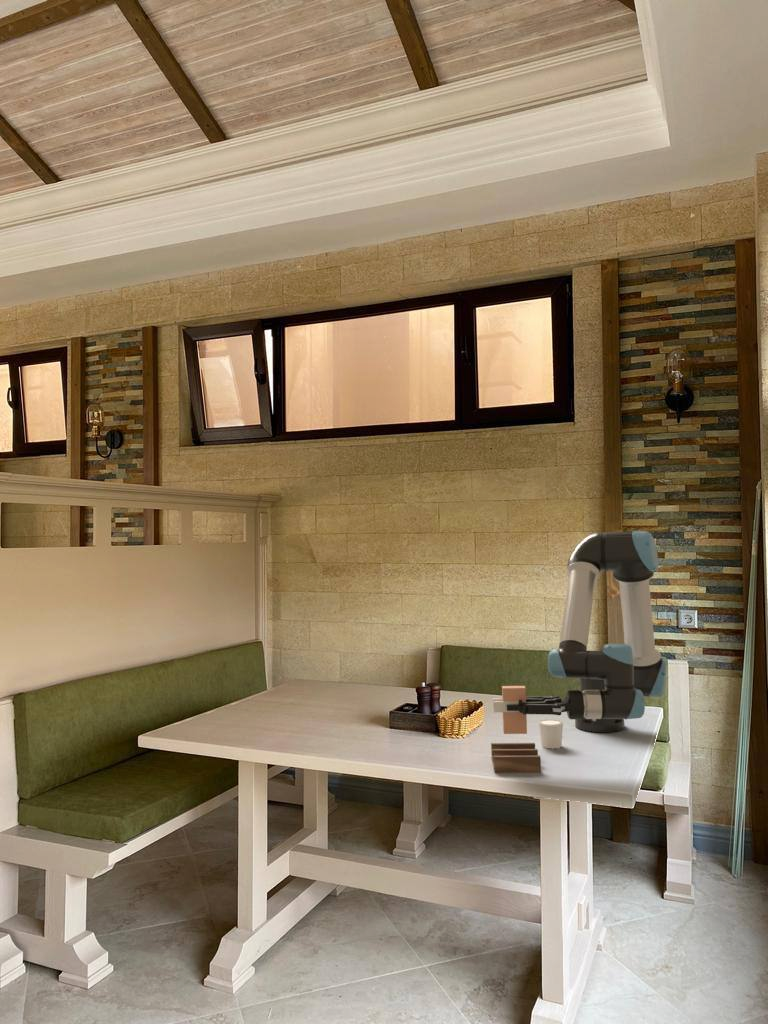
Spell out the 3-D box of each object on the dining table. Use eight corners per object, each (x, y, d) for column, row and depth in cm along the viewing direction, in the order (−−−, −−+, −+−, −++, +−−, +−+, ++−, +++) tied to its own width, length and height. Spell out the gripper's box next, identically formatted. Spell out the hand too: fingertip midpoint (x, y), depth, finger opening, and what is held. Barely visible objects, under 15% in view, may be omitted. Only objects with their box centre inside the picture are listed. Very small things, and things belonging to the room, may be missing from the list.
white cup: (564, 749, 224) (563, 725, 224) (539, 749, 225) (539, 724, 226) (563, 743, 231) (562, 719, 231) (539, 742, 232) (538, 719, 232)
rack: (491, 757, 218) (491, 743, 219) (535, 757, 218) (534, 742, 218) (494, 772, 205) (494, 757, 205) (540, 772, 204) (540, 756, 204)
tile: (503, 731, 210) (501, 686, 210) (525, 731, 209) (524, 685, 210) (504, 733, 207) (502, 688, 207) (526, 733, 206) (525, 688, 207)
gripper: (588, 726, 199) (495, 726, 201) (578, 712, 215) (492, 712, 217) (587, 696, 199) (494, 697, 201) (577, 684, 215) (491, 685, 217)
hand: (493, 705), depth 209 cm, fingers closed on tile, 3 cm apart
